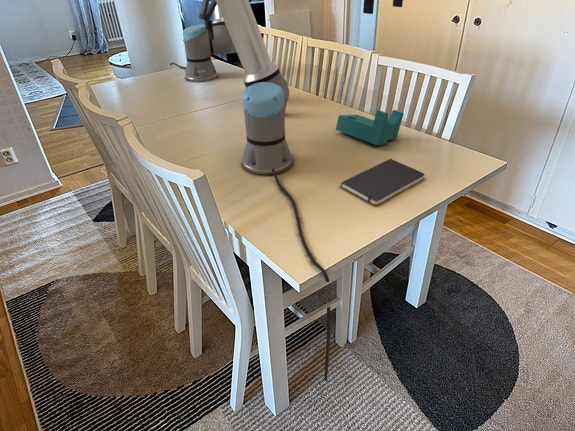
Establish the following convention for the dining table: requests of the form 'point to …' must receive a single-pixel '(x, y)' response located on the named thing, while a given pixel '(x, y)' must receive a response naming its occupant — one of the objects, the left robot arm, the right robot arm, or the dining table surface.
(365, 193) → the notebook
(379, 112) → the teal l-shaped bracket
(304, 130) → the dining table surface
